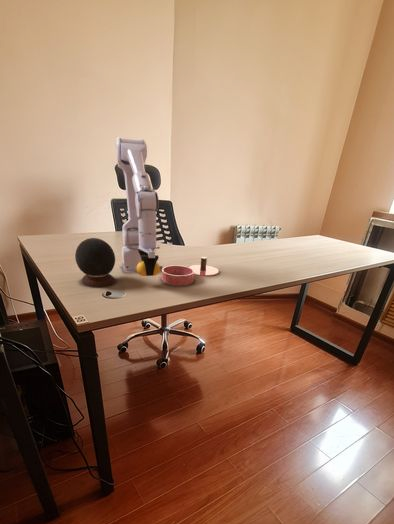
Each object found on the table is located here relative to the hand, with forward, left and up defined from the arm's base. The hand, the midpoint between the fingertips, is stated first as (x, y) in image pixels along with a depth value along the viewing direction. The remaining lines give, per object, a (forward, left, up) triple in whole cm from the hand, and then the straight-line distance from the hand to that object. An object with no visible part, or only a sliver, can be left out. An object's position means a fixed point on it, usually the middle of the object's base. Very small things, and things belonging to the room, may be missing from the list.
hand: (148, 272), depth 107 cm
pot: (+12, +4, -5) cm, 14 cm away
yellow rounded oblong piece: (0, 0, -1) cm, 1 cm away
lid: (+25, +12, -4) cm, 28 cm away
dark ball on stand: (-17, +7, -5) cm, 19 cm away
